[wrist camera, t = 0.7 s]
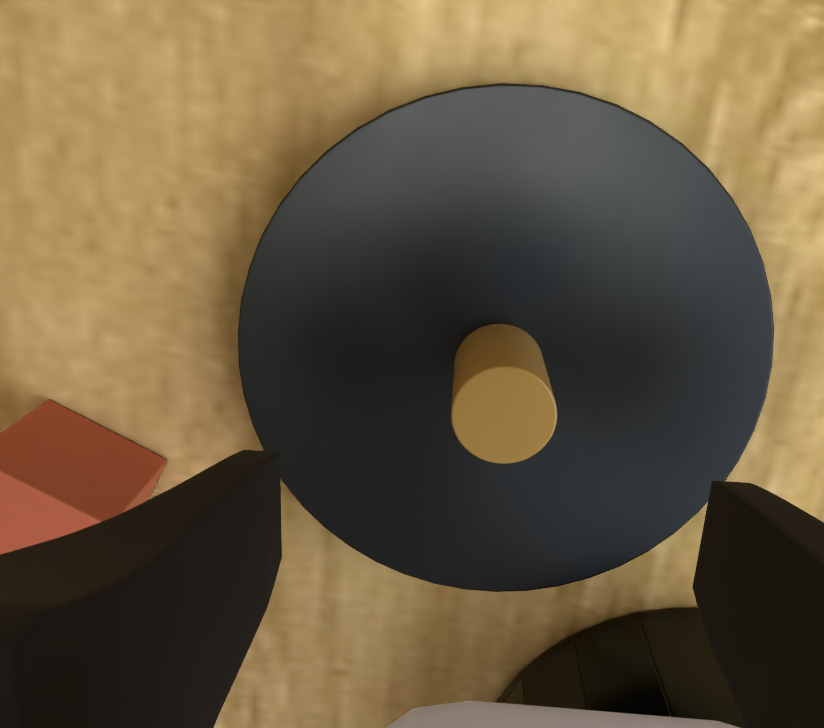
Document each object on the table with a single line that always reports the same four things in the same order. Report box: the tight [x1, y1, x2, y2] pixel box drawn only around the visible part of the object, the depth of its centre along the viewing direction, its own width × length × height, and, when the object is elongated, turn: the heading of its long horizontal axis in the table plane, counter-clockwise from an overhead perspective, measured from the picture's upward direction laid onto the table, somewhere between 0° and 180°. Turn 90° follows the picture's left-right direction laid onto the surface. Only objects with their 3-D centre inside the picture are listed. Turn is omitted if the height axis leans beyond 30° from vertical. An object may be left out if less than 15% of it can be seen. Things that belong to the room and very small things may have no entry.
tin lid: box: [238, 83, 774, 592], centre depth 20 cm, size 14×14×5 cm
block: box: [0, 400, 167, 554], centre depth 22 cm, size 4×4×4 cm
